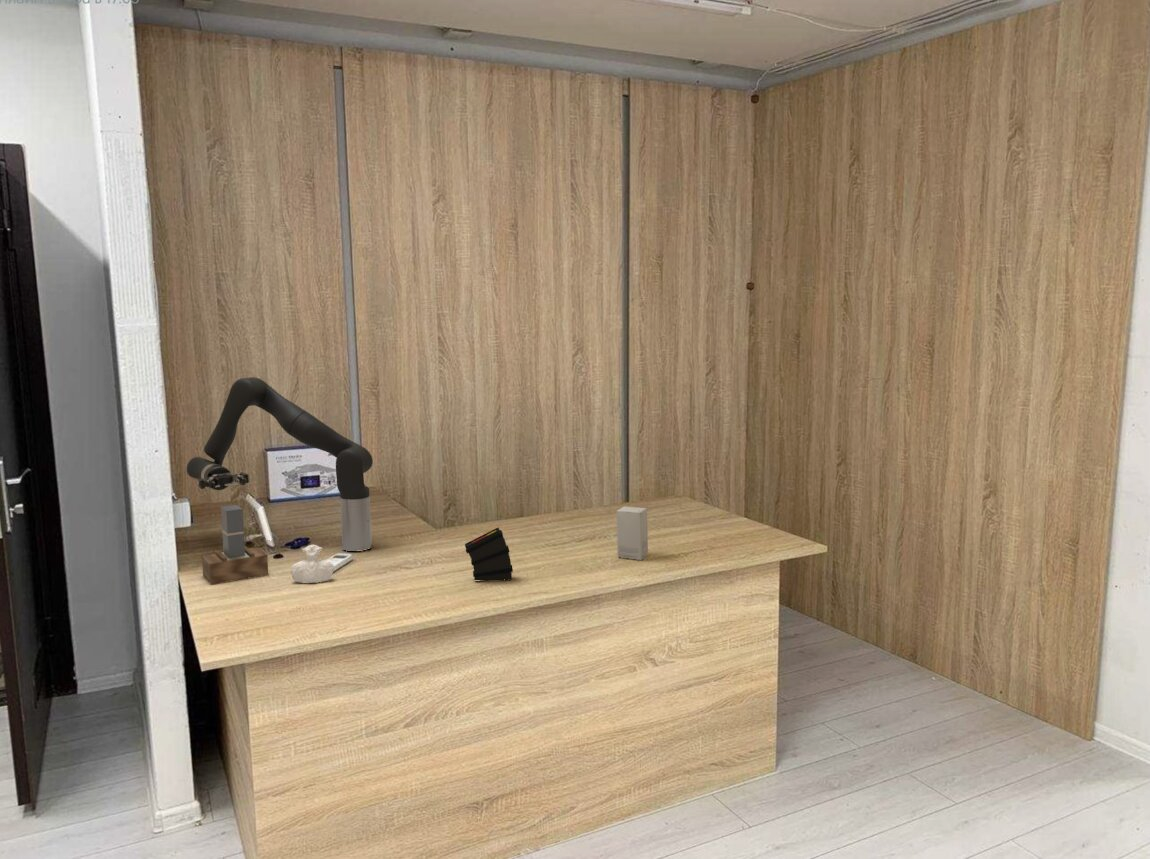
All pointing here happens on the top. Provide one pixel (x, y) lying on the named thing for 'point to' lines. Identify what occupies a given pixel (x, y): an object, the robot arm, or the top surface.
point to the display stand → (234, 566)
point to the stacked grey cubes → (233, 531)
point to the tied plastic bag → (312, 567)
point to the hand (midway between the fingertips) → (229, 483)
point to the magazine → (490, 556)
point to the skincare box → (632, 533)
